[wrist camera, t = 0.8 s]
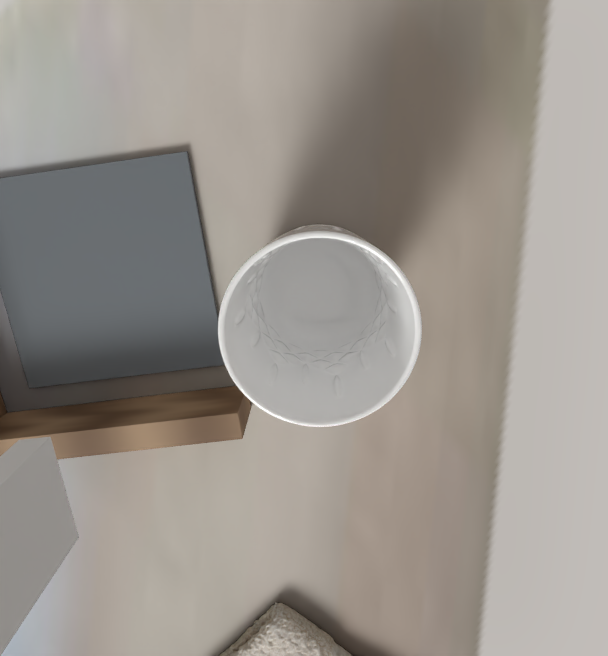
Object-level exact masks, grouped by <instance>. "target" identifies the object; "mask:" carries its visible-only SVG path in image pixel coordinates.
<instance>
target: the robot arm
mask: <svg viewBox="0 0 608 656" xmlns="http://www.w3.org/2000/svg"><path fill="white" fill-rule="evenodd" d="M78 538H79V536H78V533H77V529H76V526H75V522H74V518H73V515H72V511H71V508H70V504H69V501H68V497H67V494H66V490H65V486H64V483H63V479H62V476H61V472H60V469H59V465H58V462H57V458H56V454H55V451H54V447H53V444H52V440H51V437H42V438H33V439H23V440H18V441H17V442H16V443H15V444H14V445H13V446H12V447H10V448H9V449H8V450H7V451H6V452H5V453H4V454H2V455H1V456H0V656H1V654H2V653H3V651H4V650H5V648H6V647H7V645H8V644H9V642H10V641H11V639H12V638H13V636H14V634H15V633H16V631H17V630H18V628H19V627H20V625H21V624H22V622H23V621H24V619H25V618H26V616H27V615H28V613H29V612H30V610H31V609H32V607H33V606H34V604H35V603H36V601H37V600H38V598H39V597H40V595H41V594H42V592H43V591H44V589H45V588H46V586H47V584H48V583H49V581H50V580H51V578H52V577H53V575H54V574H55V572H56V571H57V569H58V568H59V566H60V565H61V563H62V562H63V560H64V559H65V557H66V556H67V554H68V553H69V551H70V550H71V548H72V547H73V545H74V544H75V542H76V541H77V539H78Z"/></svg>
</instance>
